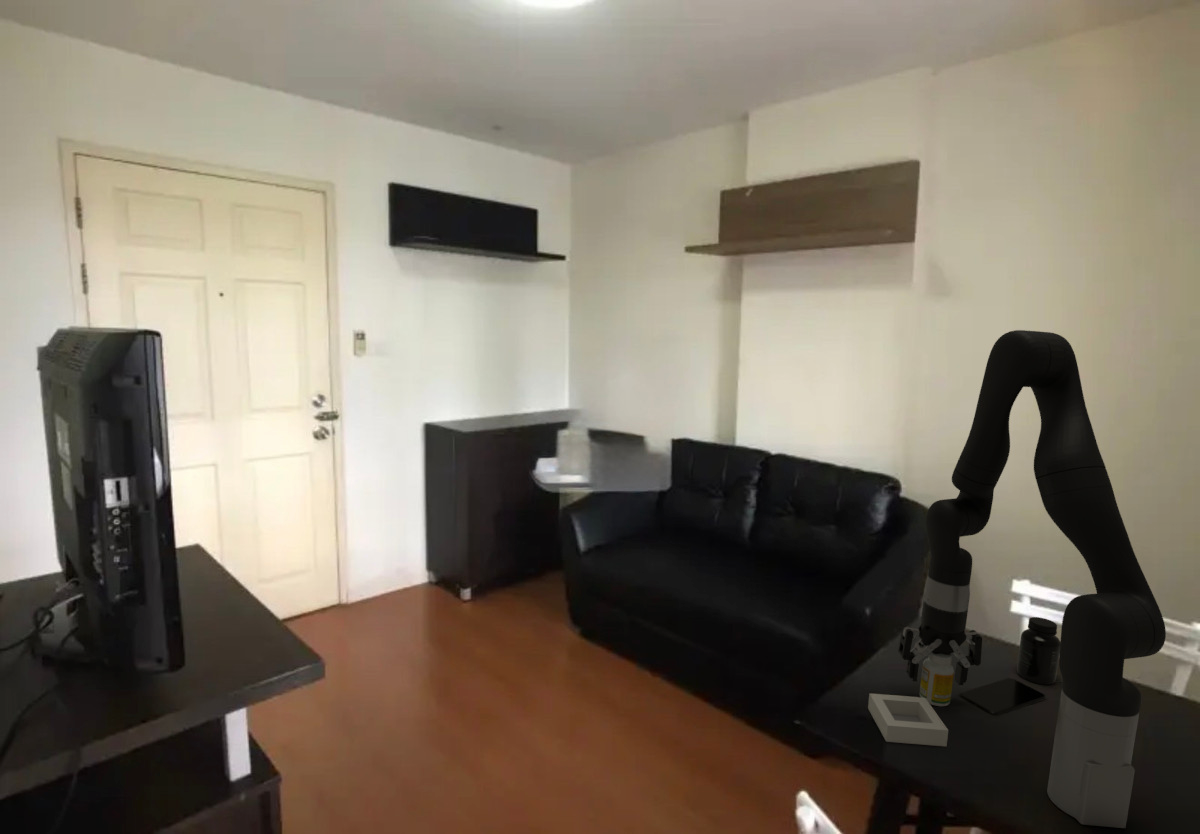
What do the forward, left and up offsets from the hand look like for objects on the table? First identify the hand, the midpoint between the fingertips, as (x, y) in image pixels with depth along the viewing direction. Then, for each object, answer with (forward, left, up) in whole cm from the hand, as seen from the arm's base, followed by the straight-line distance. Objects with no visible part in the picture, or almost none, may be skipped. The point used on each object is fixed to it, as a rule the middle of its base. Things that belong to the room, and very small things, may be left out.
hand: (935, 681), depth 128 cm
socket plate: (-10, +9, -4) cm, 14 cm away
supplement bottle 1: (0, 0, -4) cm, 4 cm away
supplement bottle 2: (+12, -25, -4) cm, 28 cm away
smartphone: (+3, -14, -4) cm, 15 cm away
